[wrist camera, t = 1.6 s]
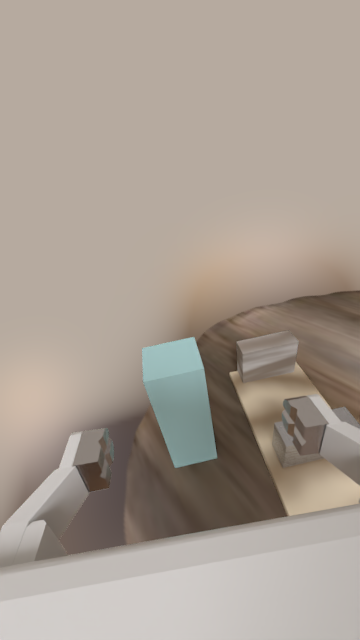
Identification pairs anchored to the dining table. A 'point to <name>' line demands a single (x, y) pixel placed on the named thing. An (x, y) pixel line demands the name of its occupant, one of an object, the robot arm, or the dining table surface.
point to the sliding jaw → (286, 447)
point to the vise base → (266, 409)
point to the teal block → (180, 400)
